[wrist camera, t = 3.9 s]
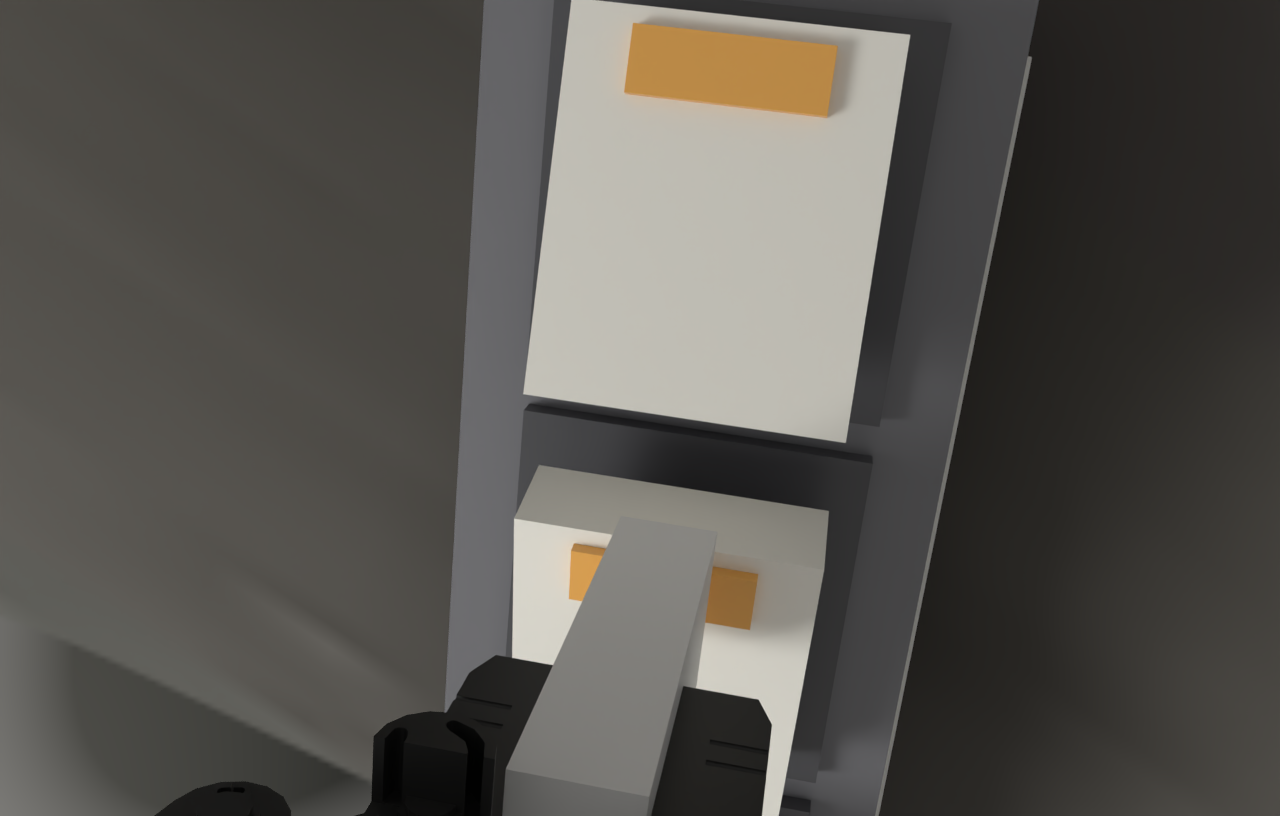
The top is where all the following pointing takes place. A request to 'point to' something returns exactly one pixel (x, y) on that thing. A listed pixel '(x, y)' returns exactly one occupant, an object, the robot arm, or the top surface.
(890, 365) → the power strip
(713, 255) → the rocker
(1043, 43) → the top surface
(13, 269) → the top surface
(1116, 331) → the top surface
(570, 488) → the rocker
